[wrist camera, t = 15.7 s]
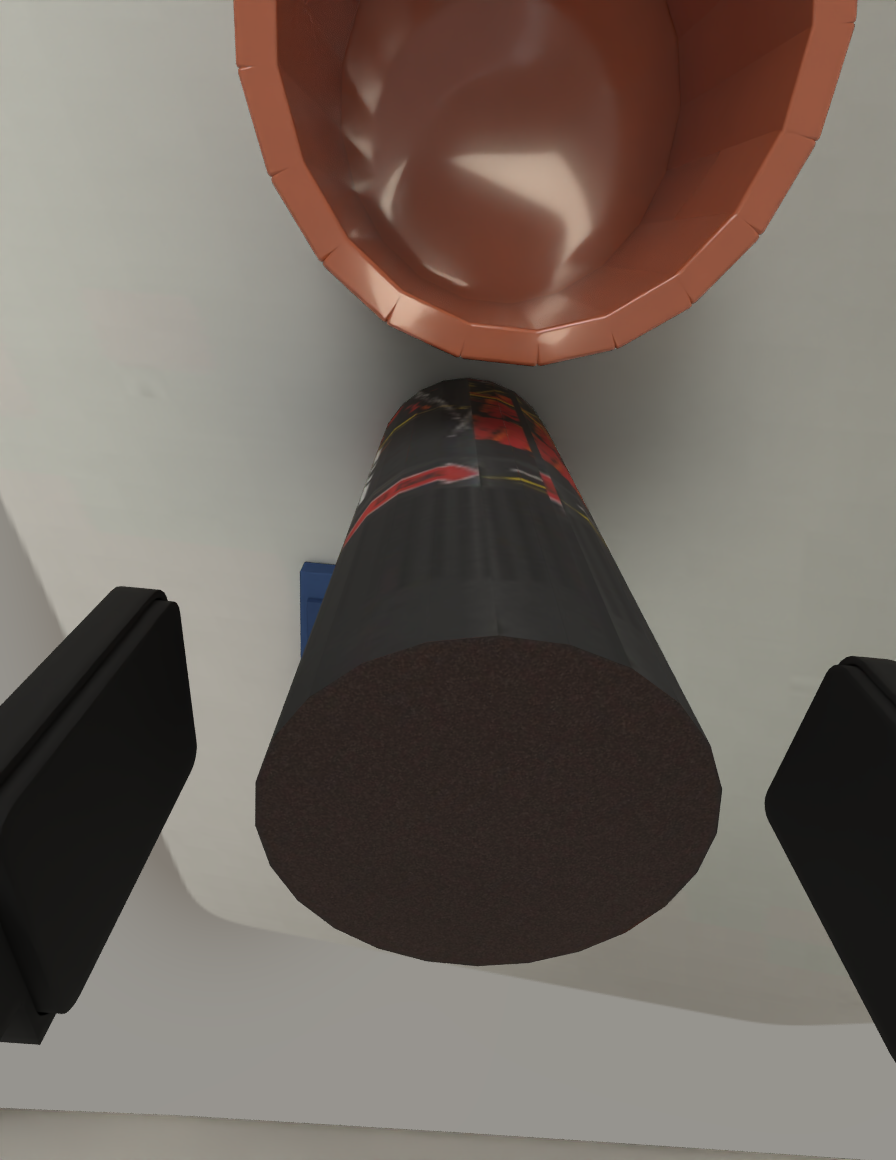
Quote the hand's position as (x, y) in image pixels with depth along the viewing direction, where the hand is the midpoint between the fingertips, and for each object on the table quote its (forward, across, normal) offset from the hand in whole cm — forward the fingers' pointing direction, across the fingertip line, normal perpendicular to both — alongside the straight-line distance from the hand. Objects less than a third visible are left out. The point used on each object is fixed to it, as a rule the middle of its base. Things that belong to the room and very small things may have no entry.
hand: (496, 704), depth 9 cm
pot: (+14, 0, -9) cm, 16 cm away
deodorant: (+14, 0, +1) cm, 14 cm away
